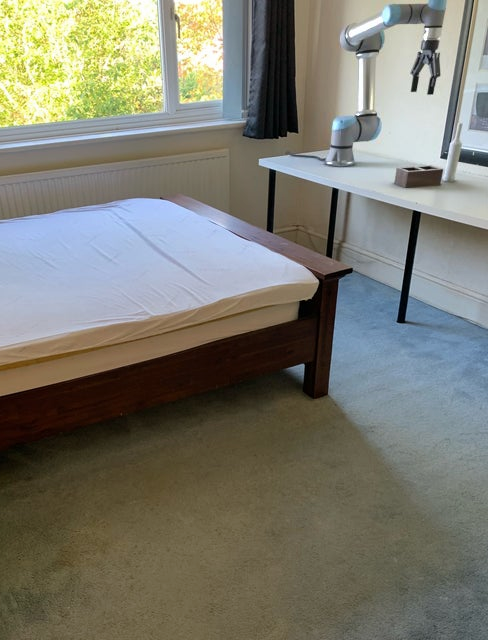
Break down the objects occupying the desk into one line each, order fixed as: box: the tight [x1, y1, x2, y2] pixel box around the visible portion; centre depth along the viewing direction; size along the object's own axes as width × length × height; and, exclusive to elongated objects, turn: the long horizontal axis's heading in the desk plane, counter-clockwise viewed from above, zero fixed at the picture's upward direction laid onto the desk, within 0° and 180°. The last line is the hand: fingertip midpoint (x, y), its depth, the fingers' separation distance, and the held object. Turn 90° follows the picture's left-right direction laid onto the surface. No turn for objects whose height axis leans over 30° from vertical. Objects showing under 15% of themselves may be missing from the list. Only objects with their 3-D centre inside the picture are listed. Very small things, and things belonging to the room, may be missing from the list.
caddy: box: [394, 164, 444, 189], centre depth 275 cm, size 10×18×7 cm, turn 104°
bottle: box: [442, 122, 464, 183], centre depth 275 cm, size 5×5×25 cm
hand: (421, 93), depth 272 cm, fingers open, 13 cm apart
